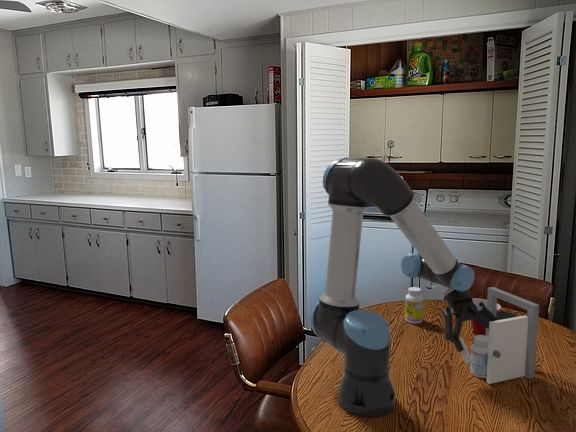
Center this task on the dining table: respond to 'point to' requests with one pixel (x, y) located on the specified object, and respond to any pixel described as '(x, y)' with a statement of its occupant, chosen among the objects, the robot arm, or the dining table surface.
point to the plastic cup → (477, 327)
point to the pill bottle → (479, 356)
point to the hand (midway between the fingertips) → (488, 357)
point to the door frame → (532, 323)
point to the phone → (505, 315)
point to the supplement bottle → (414, 306)
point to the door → (507, 349)
